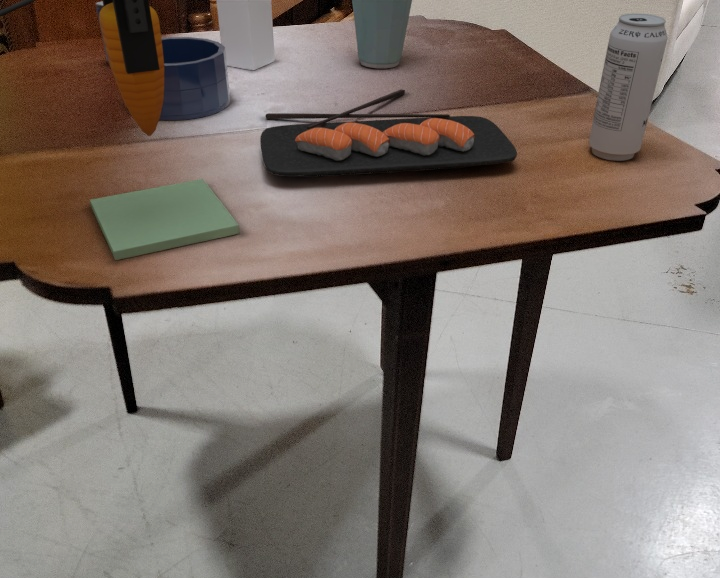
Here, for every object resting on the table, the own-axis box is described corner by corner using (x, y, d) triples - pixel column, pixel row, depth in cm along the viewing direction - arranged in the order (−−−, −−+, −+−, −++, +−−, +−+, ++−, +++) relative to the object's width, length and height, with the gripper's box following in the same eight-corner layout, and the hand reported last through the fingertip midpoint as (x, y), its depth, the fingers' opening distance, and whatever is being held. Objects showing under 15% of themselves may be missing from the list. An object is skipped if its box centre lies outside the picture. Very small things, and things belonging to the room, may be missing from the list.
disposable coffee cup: (333, 64, 116) (331, -42, 107) (376, 50, 123) (378, -51, 114) (385, 77, 111) (388, -33, 102) (427, 62, 118) (433, -43, 108)
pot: (120, 95, 104) (110, 43, 100) (213, 82, 109) (207, 32, 104) (142, 126, 94) (132, 70, 90) (243, 111, 99) (238, 57, 95)
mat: (91, 208, 76) (89, 199, 75) (204, 186, 80) (203, 178, 79) (115, 260, 67) (113, 251, 67) (240, 233, 71) (239, 224, 71)
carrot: (173, 144, 66) (143, -42, 57) (117, 146, 66) (79, -41, 57) (179, 125, 70) (153, -52, 61) (127, 126, 70) (92, -52, 61)
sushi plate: (266, 191, 79) (263, 157, 77) (254, 100, 102) (251, 72, 100) (523, 174, 83) (528, 142, 80) (455, 90, 106) (457, 63, 104)
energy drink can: (648, 160, 86) (682, 24, 77) (600, 164, 85) (630, 26, 76) (623, 141, 91) (653, 11, 82) (578, 145, 90) (603, 13, 81)
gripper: (159, -302, 45) (206, 85, 59) (103, -281, 58) (154, 34, 72) (30, -309, 42) (112, 98, 57) (1, -285, 55) (74, 43, 69)
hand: (135, 61), depth 64 cm, fingers closed on carrot, 5 cm apart
